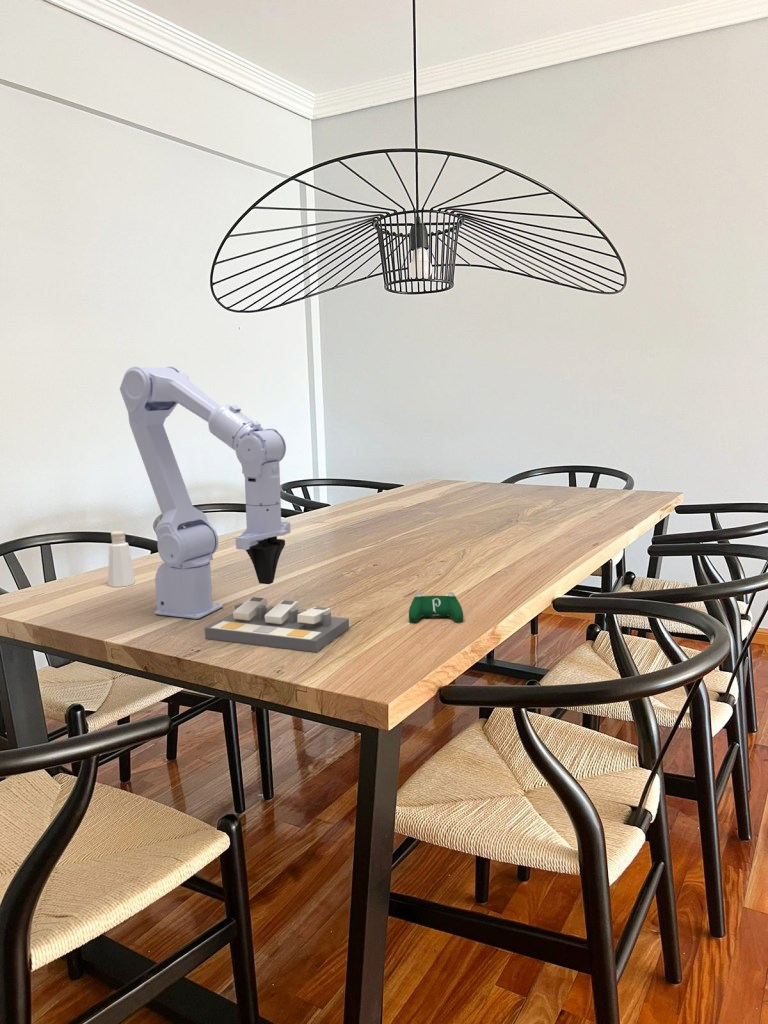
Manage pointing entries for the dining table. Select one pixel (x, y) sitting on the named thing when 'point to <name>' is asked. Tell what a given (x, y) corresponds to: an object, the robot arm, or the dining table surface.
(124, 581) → the salt shaker
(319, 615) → the block
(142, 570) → the dining table surface
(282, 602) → the block
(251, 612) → the rocker
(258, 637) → the switch unit
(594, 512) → the dining table surface
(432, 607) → the gaming controller
